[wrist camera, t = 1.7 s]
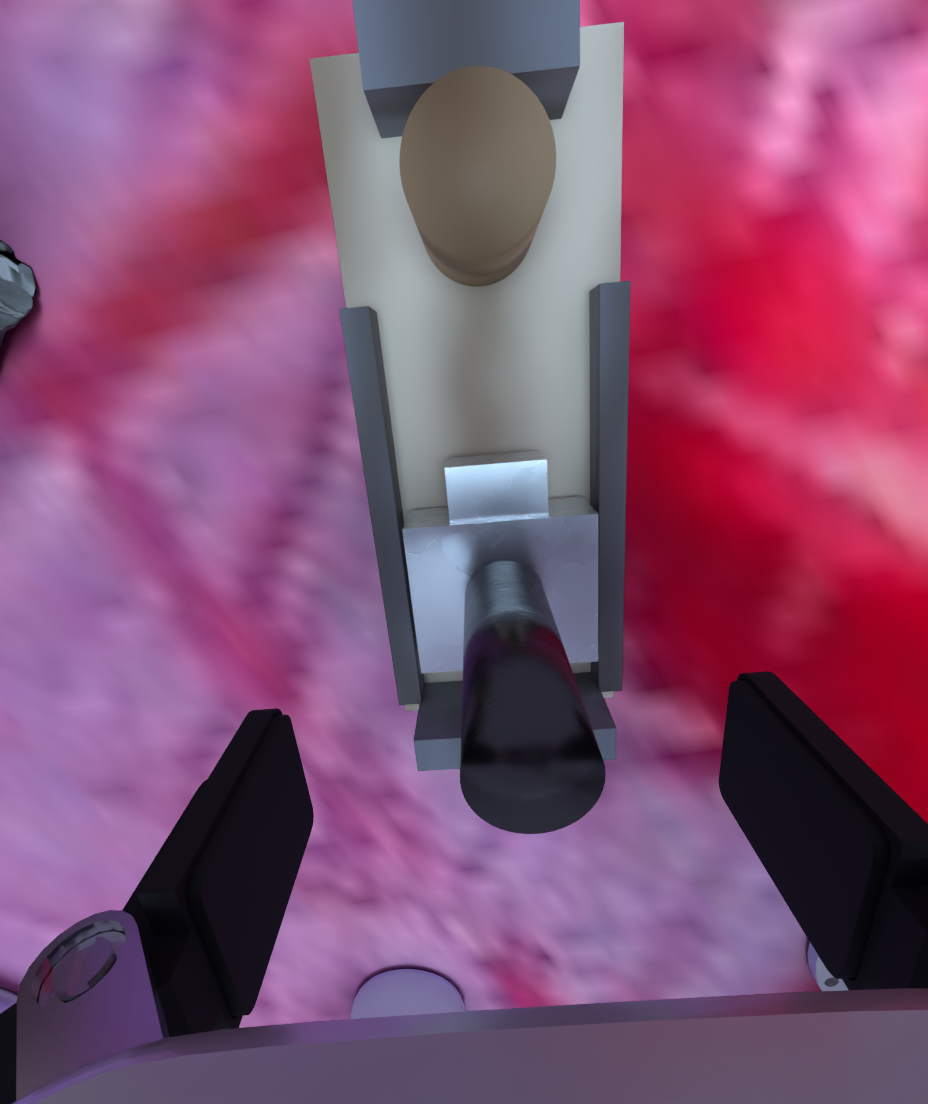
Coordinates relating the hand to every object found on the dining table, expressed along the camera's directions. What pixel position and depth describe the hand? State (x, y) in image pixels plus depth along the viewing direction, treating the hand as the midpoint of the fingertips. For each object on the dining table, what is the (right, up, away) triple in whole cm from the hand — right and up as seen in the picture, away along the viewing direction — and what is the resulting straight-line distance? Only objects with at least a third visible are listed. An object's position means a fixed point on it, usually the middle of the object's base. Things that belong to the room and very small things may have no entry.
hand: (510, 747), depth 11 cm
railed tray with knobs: (0, +9, +11) cm, 15 cm away
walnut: (0, +16, +7) cm, 17 cm away
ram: (0, +4, +11) cm, 11 cm away
